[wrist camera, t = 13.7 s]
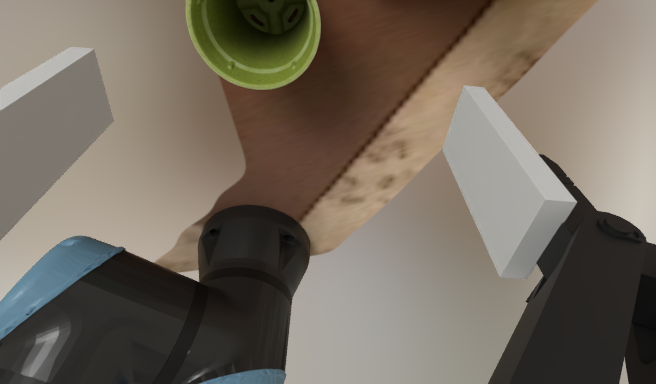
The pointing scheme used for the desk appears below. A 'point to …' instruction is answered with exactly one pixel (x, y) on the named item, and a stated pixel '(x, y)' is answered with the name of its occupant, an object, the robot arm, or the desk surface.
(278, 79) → the plant pot
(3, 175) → the robot arm
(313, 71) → the desk surface
